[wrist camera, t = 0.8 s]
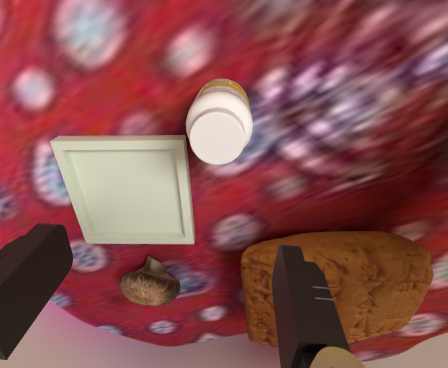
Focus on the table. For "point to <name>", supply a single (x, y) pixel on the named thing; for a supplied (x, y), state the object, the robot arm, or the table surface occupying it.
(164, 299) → the mushroom
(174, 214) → the tray
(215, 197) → the table surface
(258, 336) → the clay tablet
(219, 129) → the supplement bottle
